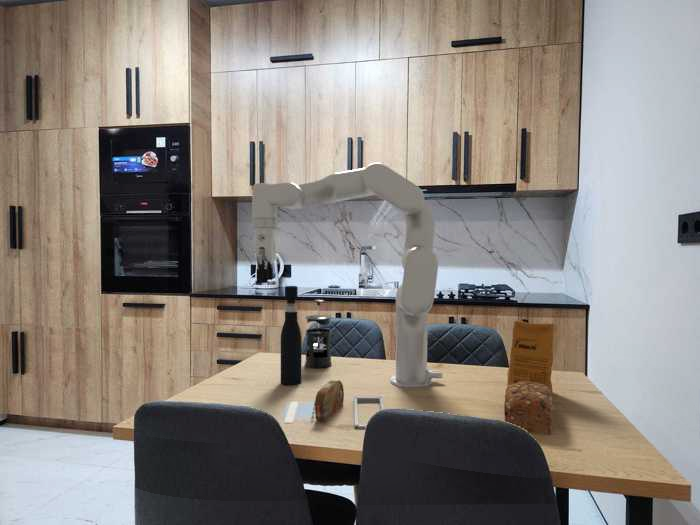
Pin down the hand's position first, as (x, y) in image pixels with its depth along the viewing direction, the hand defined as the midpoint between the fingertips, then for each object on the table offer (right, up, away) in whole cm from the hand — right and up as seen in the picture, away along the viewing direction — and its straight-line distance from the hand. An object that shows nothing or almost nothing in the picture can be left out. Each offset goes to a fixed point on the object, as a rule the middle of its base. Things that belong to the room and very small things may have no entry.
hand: (265, 281), depth 144 cm
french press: (+15, -31, +24) cm, 42 cm away
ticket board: (+13, -33, -25) cm, 44 cm away
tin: (+21, -34, -25) cm, 47 cm away
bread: (+69, -34, -30) cm, 82 cm away
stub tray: (+31, -33, -26) cm, 52 cm away
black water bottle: (+8, -32, +2) cm, 33 cm away
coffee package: (+77, -33, -9) cm, 84 cm away
